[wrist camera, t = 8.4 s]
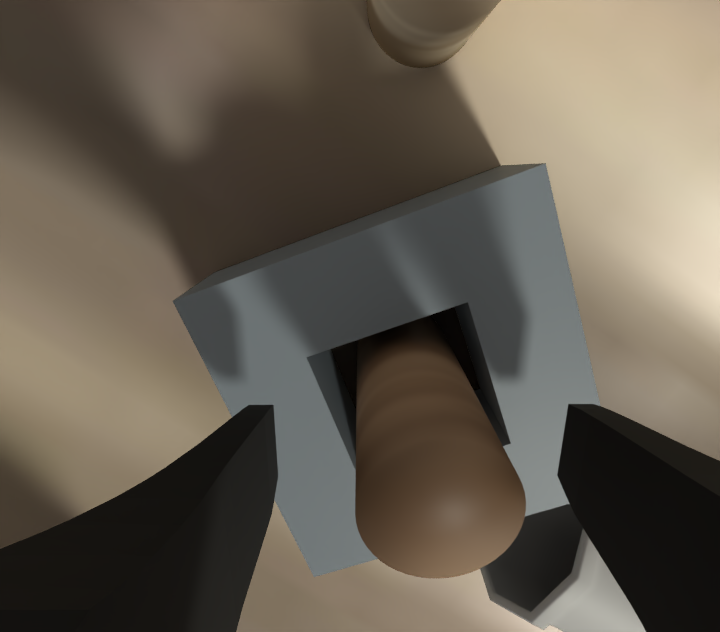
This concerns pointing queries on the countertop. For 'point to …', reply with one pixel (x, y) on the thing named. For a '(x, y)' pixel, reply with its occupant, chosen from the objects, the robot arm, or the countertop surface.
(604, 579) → the tube
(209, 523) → the robot arm
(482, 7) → the birch peg
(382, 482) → the walnut peg
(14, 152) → the countertop surface
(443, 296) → the hole block
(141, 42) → the countertop surface
